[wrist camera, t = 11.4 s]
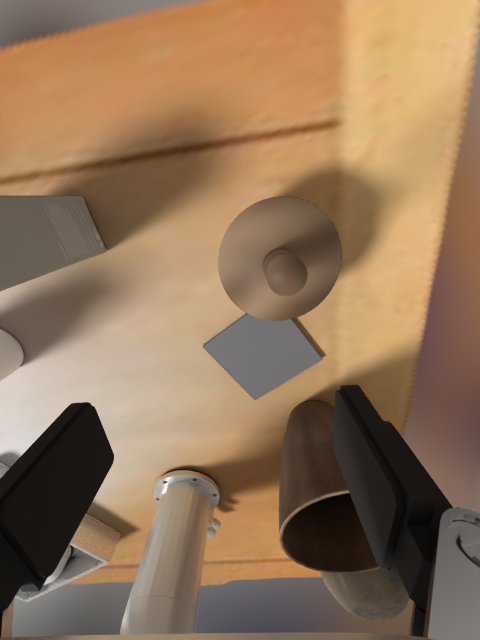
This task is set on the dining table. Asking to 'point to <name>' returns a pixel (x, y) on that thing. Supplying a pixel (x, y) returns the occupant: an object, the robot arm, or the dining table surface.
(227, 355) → the mat
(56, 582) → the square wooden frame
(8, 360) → the milk bottle
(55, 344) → the dining table surface
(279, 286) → the lid
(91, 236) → the skincare box
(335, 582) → the grey stone egg
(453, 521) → the robot arm
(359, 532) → the plant pot
